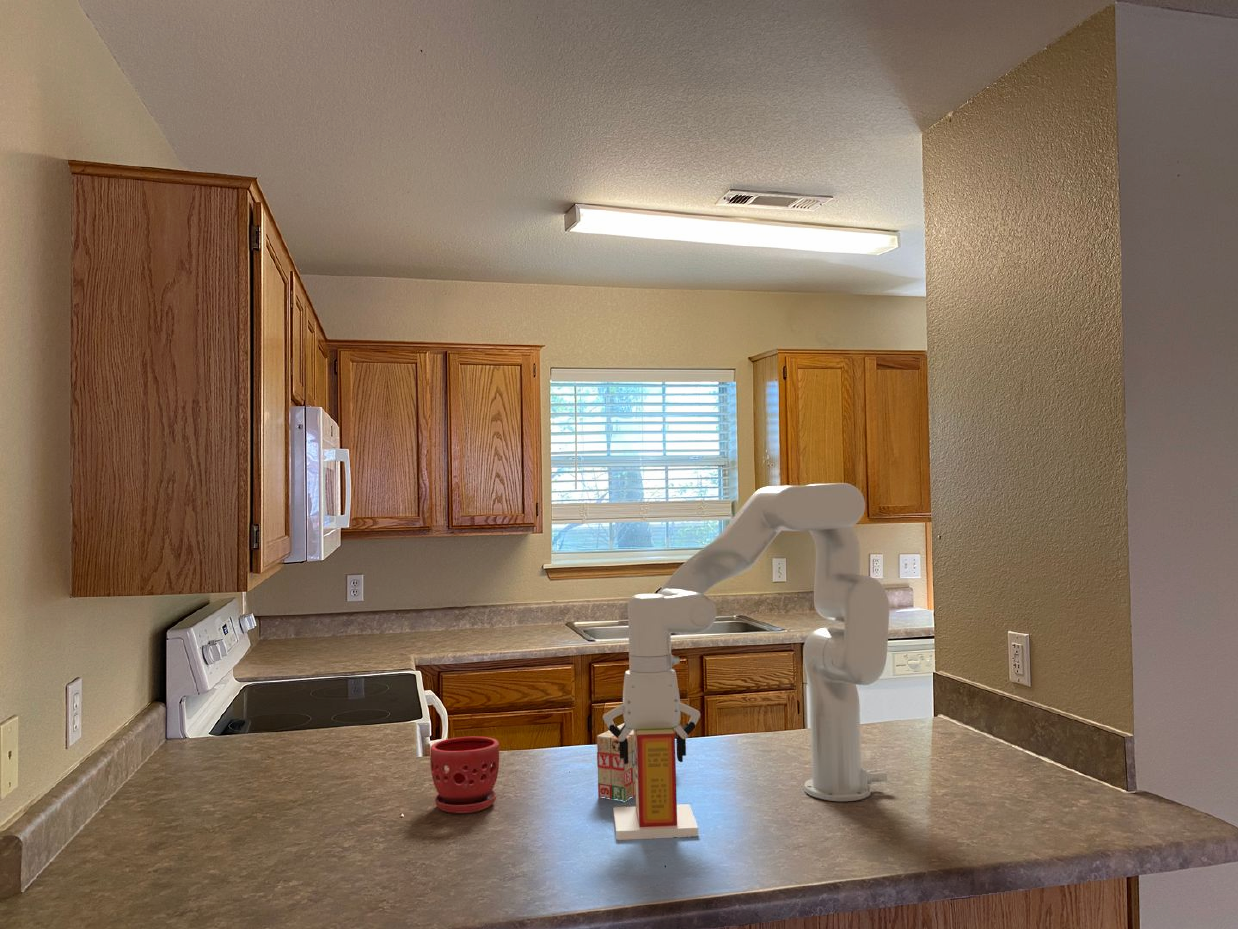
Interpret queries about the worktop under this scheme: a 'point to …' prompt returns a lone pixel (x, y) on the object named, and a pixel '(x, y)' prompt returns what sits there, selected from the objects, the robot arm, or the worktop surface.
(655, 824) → the baking soda box
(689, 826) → the cutting board
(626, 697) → the robot arm
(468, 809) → the plant pot
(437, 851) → the worktop surface
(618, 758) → the stack of blocks
